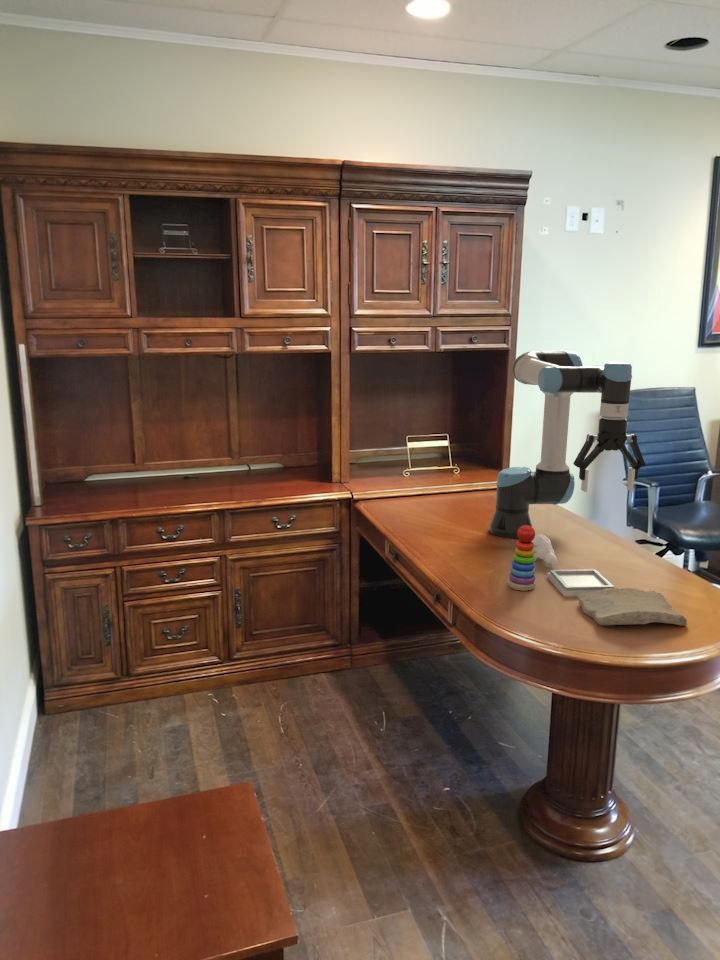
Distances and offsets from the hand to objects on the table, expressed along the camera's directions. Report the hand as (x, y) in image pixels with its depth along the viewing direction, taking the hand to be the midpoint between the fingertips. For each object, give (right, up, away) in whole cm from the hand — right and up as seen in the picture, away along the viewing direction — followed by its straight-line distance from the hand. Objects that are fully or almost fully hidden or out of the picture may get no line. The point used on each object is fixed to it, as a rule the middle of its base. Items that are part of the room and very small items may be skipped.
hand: (606, 490), depth 214 cm
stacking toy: (-24, -28, +2) cm, 37 cm away
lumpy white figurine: (-13, -24, +22) cm, 35 cm away
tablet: (0, -34, -18) cm, 39 cm away
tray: (-7, -28, +3) cm, 29 cm away
